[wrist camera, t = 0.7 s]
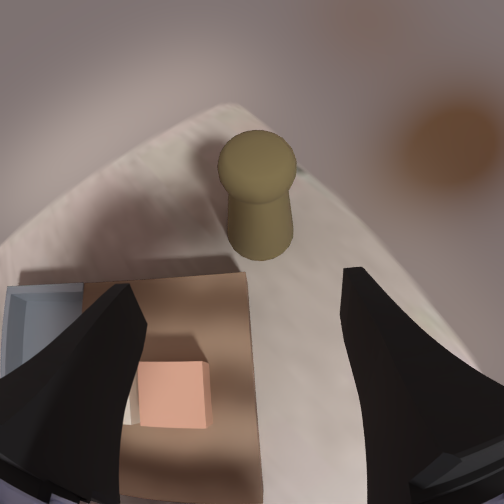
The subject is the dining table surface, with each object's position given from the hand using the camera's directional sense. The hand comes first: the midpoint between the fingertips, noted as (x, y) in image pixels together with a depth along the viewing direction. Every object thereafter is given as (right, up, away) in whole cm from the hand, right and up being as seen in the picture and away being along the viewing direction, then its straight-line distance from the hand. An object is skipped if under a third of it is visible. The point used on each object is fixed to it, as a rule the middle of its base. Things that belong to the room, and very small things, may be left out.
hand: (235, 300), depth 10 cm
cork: (+1, +4, +19) cm, 19 cm away
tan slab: (-6, -10, +13) cm, 17 cm away
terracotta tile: (-5, -9, +10) cm, 14 cm away
